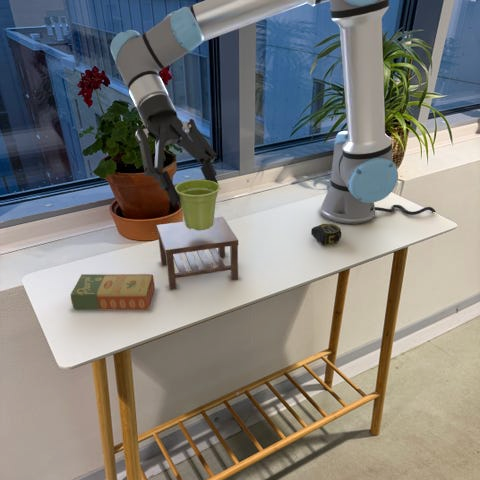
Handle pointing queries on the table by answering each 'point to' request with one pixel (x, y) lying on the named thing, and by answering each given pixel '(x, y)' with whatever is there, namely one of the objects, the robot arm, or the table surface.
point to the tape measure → (326, 233)
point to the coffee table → (197, 248)
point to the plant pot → (198, 202)
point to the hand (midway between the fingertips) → (197, 197)
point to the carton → (113, 292)
